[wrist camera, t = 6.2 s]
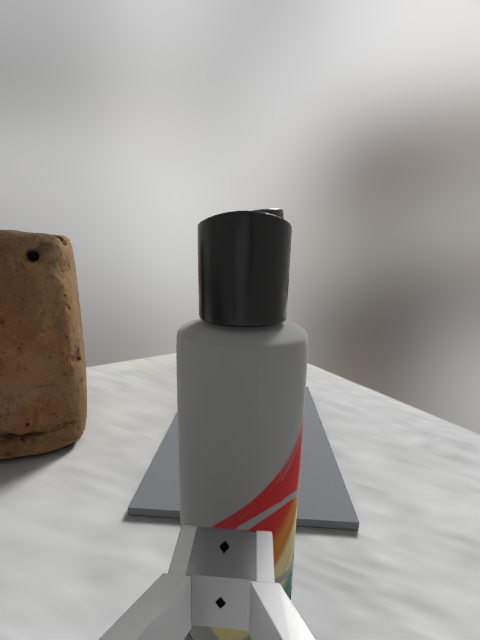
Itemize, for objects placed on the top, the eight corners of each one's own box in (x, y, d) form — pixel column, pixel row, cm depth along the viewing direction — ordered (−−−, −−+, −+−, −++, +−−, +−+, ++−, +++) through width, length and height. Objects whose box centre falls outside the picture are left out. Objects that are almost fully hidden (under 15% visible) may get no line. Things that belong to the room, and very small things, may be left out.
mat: (358, 529, 21) (359, 522, 21) (128, 514, 22) (128, 507, 22) (307, 390, 42) (307, 386, 42) (193, 385, 43) (193, 381, 43)
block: (92, 413, 35) (77, 234, 31) (88, 450, 29) (67, 228, 25) (-25, 431, 31) (-60, 228, 27) (-62, 480, 25) (-117, 220, 20)
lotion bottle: (300, 670, 14) (339, 198, 10) (173, 672, 14) (157, 193, 9) (280, 550, 19) (299, 219, 15) (189, 551, 19) (184, 216, 15)
